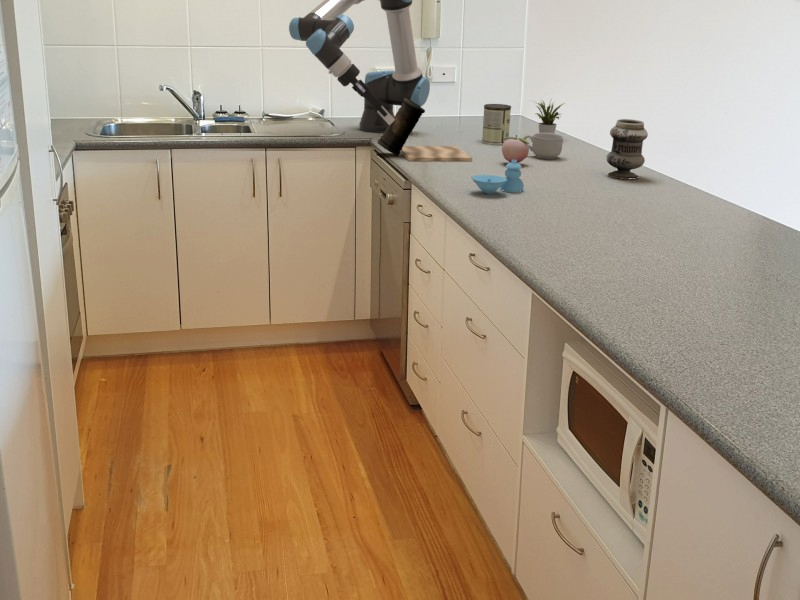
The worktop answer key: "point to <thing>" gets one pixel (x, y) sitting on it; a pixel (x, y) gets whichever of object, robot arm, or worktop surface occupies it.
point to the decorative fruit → (515, 149)
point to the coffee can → (496, 123)
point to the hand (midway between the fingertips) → (392, 122)
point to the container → (401, 127)
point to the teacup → (546, 145)
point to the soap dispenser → (501, 180)
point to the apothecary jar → (626, 147)
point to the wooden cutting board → (434, 153)
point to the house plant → (548, 118)
